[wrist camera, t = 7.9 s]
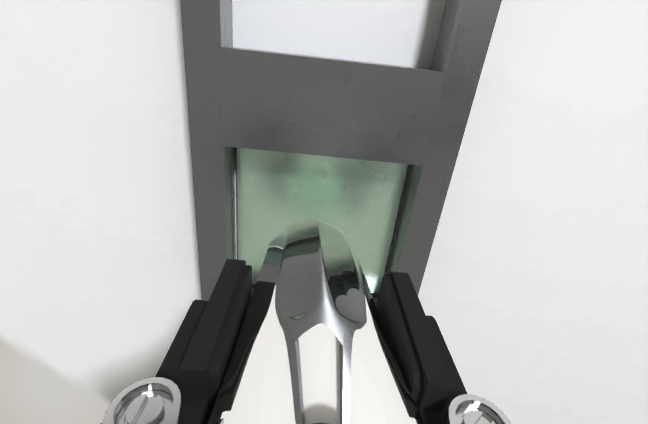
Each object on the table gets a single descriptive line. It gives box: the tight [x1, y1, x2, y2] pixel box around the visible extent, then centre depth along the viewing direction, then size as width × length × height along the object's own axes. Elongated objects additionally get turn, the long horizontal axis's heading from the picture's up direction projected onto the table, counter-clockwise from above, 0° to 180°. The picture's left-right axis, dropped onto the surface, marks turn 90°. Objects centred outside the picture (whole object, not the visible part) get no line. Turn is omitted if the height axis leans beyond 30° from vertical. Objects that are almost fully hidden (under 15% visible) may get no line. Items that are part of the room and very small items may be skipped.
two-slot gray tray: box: [181, 0, 502, 305], centre depth 13 cm, size 10×21×2 cm, turn 174°
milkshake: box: [206, 218, 423, 424], centre depth 8 cm, size 4×5×10 cm
